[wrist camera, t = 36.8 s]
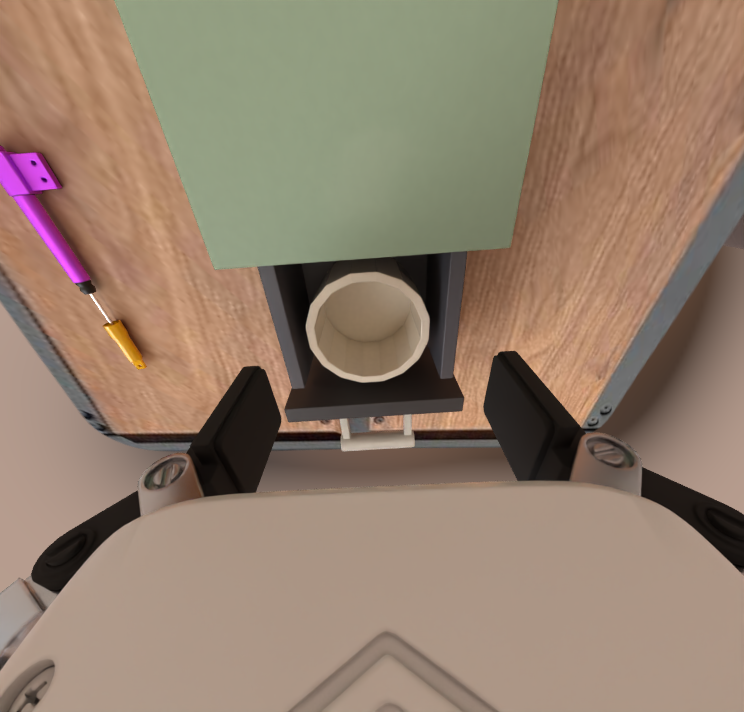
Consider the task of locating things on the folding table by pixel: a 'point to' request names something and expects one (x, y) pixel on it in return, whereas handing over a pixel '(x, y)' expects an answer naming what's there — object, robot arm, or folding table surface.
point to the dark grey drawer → (370, 399)
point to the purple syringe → (55, 230)
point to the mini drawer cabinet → (345, 121)
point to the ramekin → (367, 320)
